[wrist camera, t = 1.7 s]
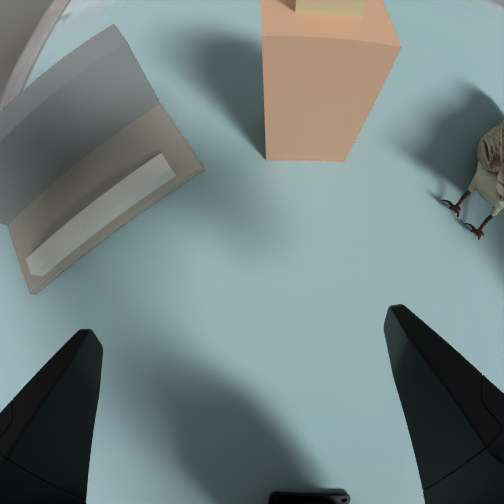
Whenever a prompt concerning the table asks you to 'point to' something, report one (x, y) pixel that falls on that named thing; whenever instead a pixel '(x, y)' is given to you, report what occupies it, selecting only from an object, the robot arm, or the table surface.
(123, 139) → the wall board
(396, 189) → the table surface
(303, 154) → the tan tall block
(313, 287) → the table surface
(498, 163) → the decorative bird
